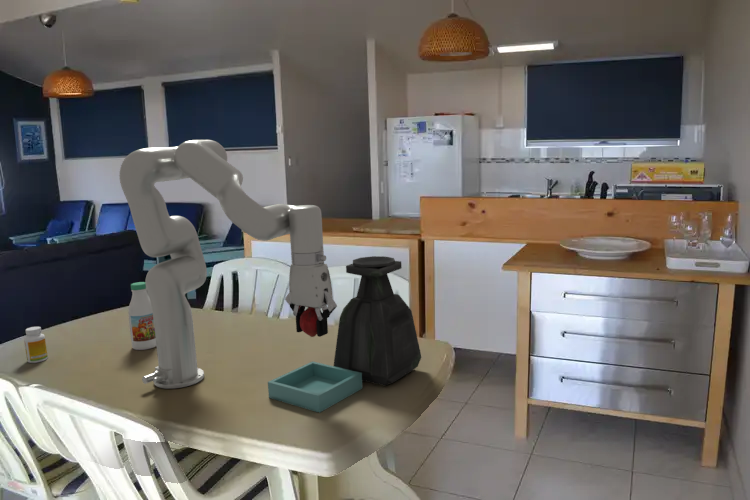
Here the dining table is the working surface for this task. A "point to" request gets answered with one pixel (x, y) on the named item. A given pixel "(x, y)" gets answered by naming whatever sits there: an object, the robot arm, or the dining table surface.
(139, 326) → the milk bottle
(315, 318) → the onion
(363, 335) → the bottle
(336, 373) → the serving dish
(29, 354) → the supplement bottle
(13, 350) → the dining table surface
